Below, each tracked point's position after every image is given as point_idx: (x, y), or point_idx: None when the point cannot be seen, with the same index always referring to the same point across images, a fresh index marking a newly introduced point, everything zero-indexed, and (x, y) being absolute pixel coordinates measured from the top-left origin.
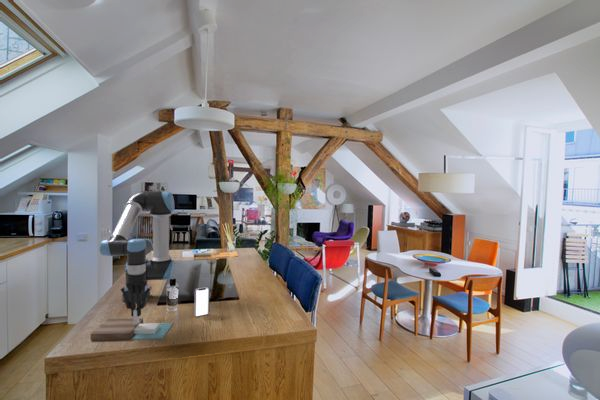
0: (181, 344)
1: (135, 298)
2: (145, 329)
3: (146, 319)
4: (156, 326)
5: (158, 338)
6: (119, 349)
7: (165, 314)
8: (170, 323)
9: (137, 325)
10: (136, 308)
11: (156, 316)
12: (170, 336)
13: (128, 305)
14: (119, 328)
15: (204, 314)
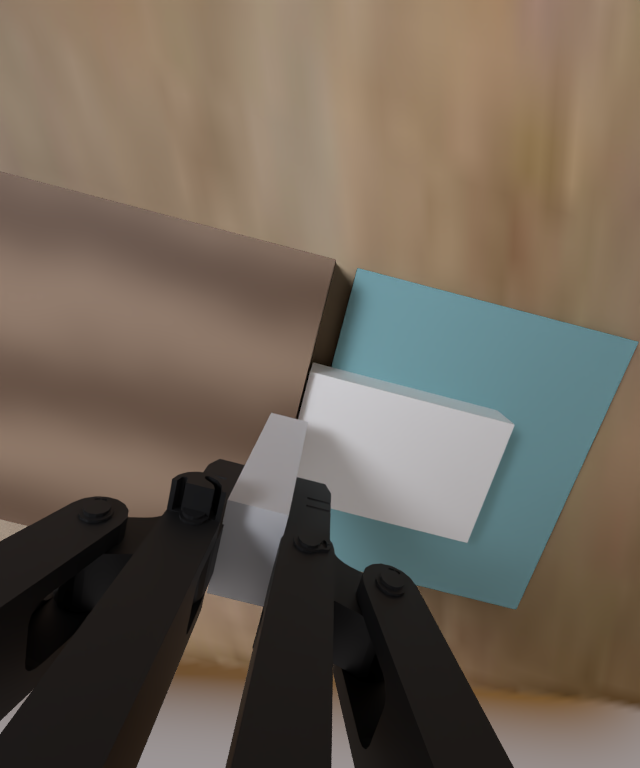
0: (636, 707)
1: (122, 739)
2: (383, 520)
3: (358, 127)
4: (485, 490)
5: (484, 599)
6: (227, 649)
7: (583, 14)
8: (613, 351)
9: (296, 414)
10: (243, 525)
11: (470, 57)
12: (576, 578)
13: (63, 647)
14: (137, 460)
15: None
